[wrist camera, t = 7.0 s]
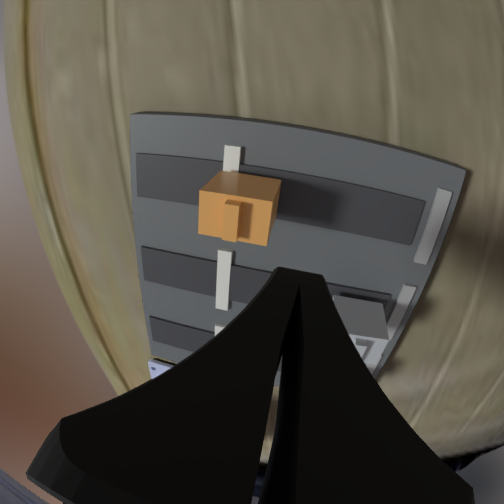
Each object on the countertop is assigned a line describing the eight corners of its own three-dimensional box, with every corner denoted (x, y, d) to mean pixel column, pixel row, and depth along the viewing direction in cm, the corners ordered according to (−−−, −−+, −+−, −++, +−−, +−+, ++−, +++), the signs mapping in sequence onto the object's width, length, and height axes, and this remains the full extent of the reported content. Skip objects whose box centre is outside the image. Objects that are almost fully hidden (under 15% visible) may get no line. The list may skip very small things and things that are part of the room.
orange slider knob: (276, 217, 16) (264, 252, 13) (218, 207, 16) (194, 239, 13) (281, 179, 15) (271, 206, 12) (220, 170, 15) (195, 194, 12)
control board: (362, 387, 24) (362, 401, 23) (157, 344, 26) (150, 356, 25) (457, 164, 14) (468, 172, 13) (140, 111, 16) (127, 114, 15)
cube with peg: (371, 328, 18) (376, 371, 15) (325, 320, 18) (323, 364, 15) (382, 303, 17) (390, 347, 14) (333, 294, 17) (333, 338, 14)
